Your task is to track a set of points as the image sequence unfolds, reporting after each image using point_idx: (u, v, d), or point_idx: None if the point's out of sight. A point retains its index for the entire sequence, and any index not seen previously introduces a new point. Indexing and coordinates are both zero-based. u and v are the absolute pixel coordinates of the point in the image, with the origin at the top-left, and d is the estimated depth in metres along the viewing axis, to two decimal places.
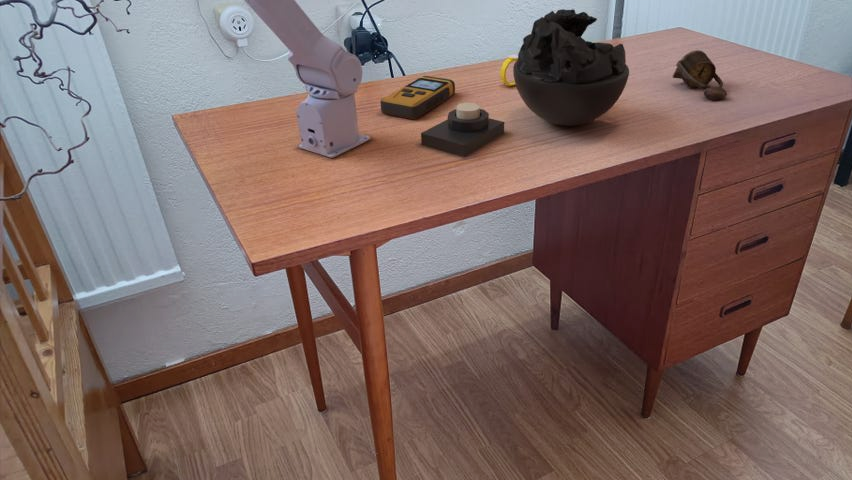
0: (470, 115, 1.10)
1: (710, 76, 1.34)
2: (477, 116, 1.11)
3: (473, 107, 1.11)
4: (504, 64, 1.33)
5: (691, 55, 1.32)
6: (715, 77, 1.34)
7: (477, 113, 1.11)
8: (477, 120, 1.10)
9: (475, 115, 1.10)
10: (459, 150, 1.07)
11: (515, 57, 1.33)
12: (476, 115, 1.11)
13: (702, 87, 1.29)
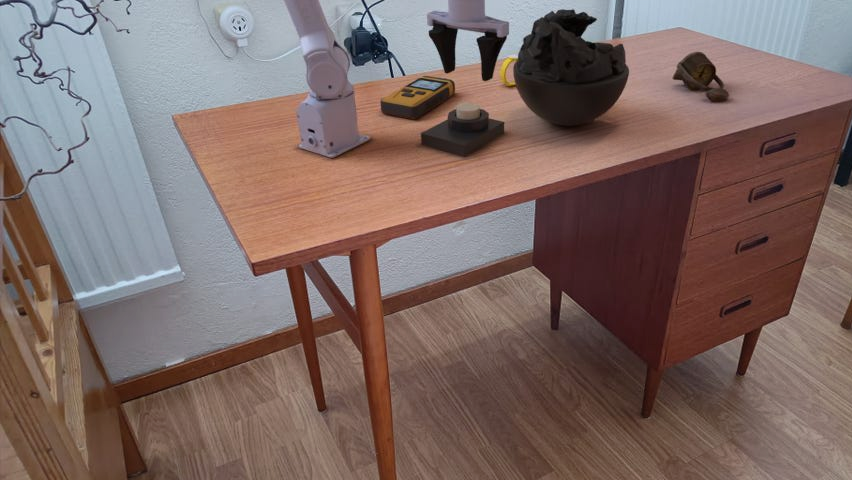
0: (470, 115, 1.10)
1: (710, 77, 1.33)
2: (477, 116, 1.11)
3: (473, 107, 1.11)
4: (504, 64, 1.33)
5: (691, 56, 1.31)
6: (715, 78, 1.33)
7: (477, 113, 1.11)
8: (477, 120, 1.10)
9: (475, 115, 1.10)
10: (459, 150, 1.07)
11: (515, 57, 1.33)
12: (476, 115, 1.11)
13: (704, 89, 1.28)
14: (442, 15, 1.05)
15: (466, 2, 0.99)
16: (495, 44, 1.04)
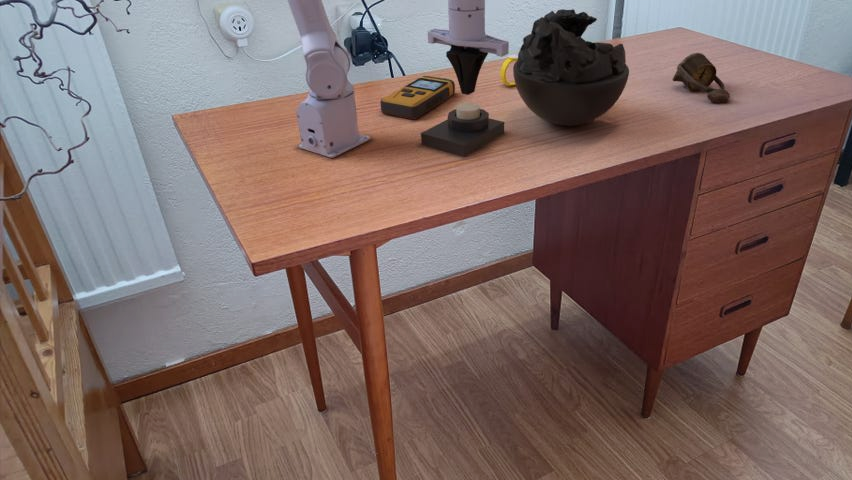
0: (470, 115, 1.10)
1: (710, 78, 1.33)
2: (477, 116, 1.11)
3: (473, 107, 1.11)
4: (504, 64, 1.33)
5: (691, 57, 1.31)
6: (715, 79, 1.33)
7: (477, 113, 1.11)
8: (477, 120, 1.10)
9: (475, 115, 1.10)
10: (459, 150, 1.07)
11: (515, 57, 1.33)
12: (476, 115, 1.11)
13: (705, 90, 1.28)
14: (443, 33, 1.07)
15: (467, 22, 1.01)
16: (477, 59, 1.07)
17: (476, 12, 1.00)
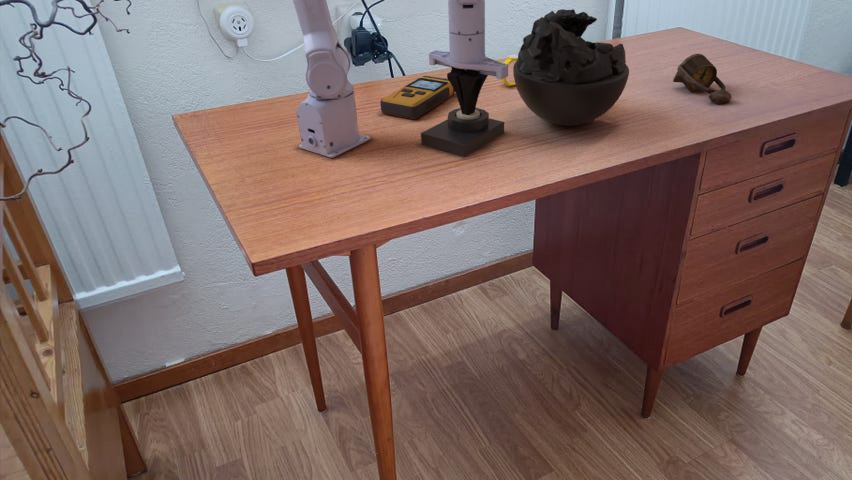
0: None
1: (711, 79, 1.32)
2: None
3: (473, 113, 1.12)
4: None
5: (692, 58, 1.30)
6: (716, 80, 1.32)
7: None
8: (477, 120, 1.10)
9: None
10: (459, 150, 1.07)
11: (515, 57, 1.33)
12: None
13: (707, 91, 1.27)
14: (443, 55, 1.09)
15: (467, 46, 1.03)
16: (477, 80, 1.09)
17: (476, 36, 1.02)
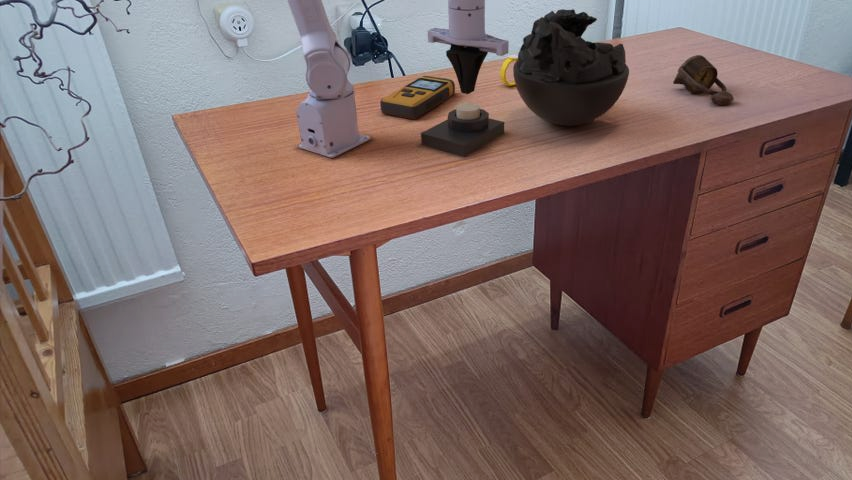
0: (470, 115, 1.10)
1: (711, 80, 1.31)
2: (477, 116, 1.11)
3: (473, 107, 1.11)
4: (504, 64, 1.33)
5: (692, 60, 1.29)
6: (716, 81, 1.32)
7: (477, 113, 1.11)
8: (477, 120, 1.10)
9: (475, 115, 1.10)
10: (459, 150, 1.07)
11: (515, 57, 1.33)
12: (476, 115, 1.11)
13: (709, 92, 1.26)
14: (442, 32, 1.07)
15: (467, 21, 1.01)
16: (476, 58, 1.07)
17: (476, 11, 1.00)
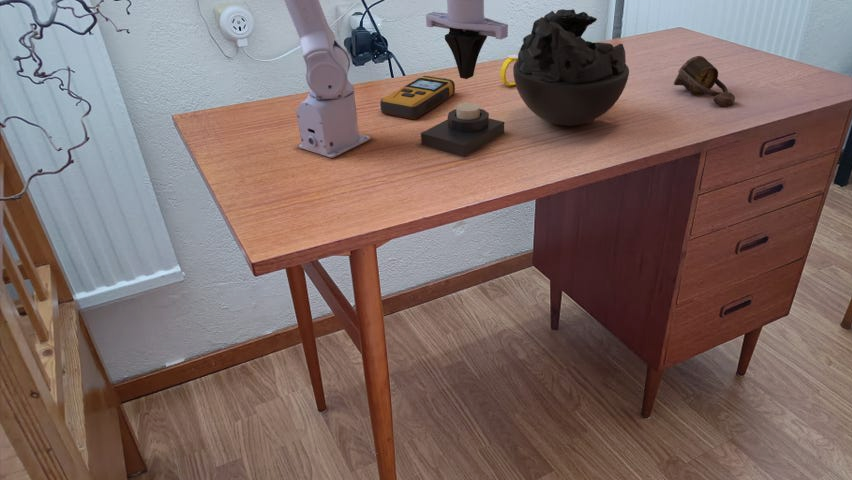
0: (470, 115, 1.10)
1: (712, 81, 1.31)
2: (477, 116, 1.11)
3: (473, 107, 1.11)
4: (504, 64, 1.33)
5: (693, 61, 1.29)
6: (717, 82, 1.31)
7: (477, 113, 1.11)
8: (477, 120, 1.10)
9: (475, 115, 1.10)
10: (459, 150, 1.07)
11: (515, 57, 1.33)
12: (476, 115, 1.11)
13: (711, 93, 1.26)
14: (441, 16, 1.05)
15: (466, 4, 1.00)
16: (475, 43, 1.06)
17: None
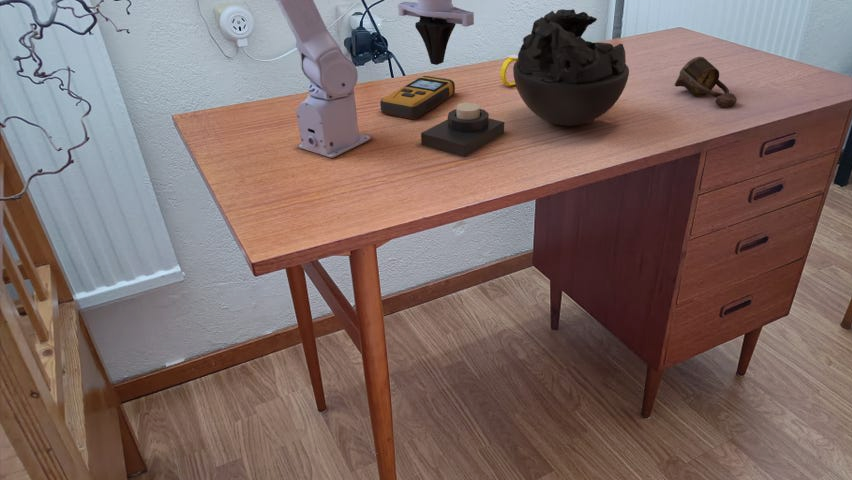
0: (470, 115, 1.10)
1: (713, 82, 1.30)
2: (477, 116, 1.11)
3: (473, 107, 1.11)
4: (504, 64, 1.33)
5: (694, 62, 1.28)
6: (718, 83, 1.31)
7: (477, 113, 1.11)
8: (477, 120, 1.10)
9: (475, 115, 1.10)
10: (459, 150, 1.07)
11: (515, 57, 1.33)
12: (476, 115, 1.11)
13: (712, 95, 1.25)
14: (412, 5, 1.12)
15: None
16: (445, 30, 1.12)
17: None
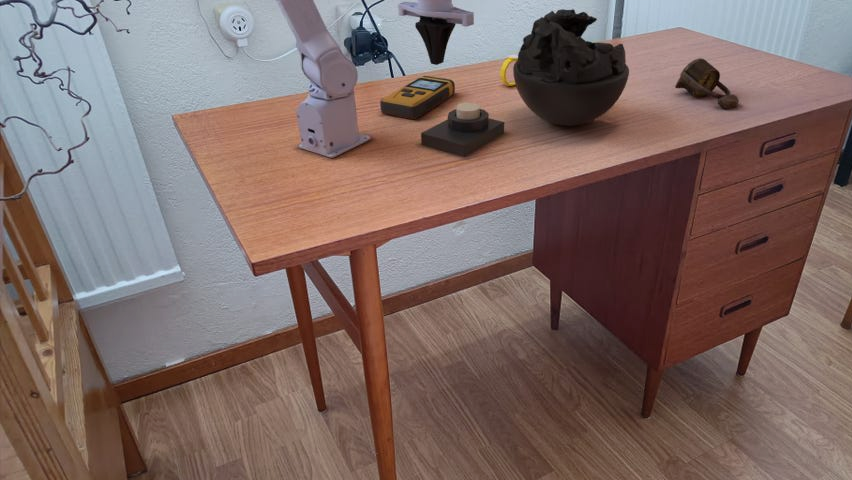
0: (470, 115, 1.10)
1: (713, 83, 1.30)
2: (477, 116, 1.11)
3: (473, 107, 1.11)
4: (504, 64, 1.33)
5: (695, 63, 1.27)
6: (718, 84, 1.30)
7: (477, 113, 1.11)
8: (477, 120, 1.10)
9: (475, 115, 1.10)
10: (459, 150, 1.07)
11: (515, 57, 1.33)
12: (476, 115, 1.11)
13: (715, 96, 1.25)
14: (412, 5, 1.12)
15: None
16: (445, 30, 1.12)
17: None
